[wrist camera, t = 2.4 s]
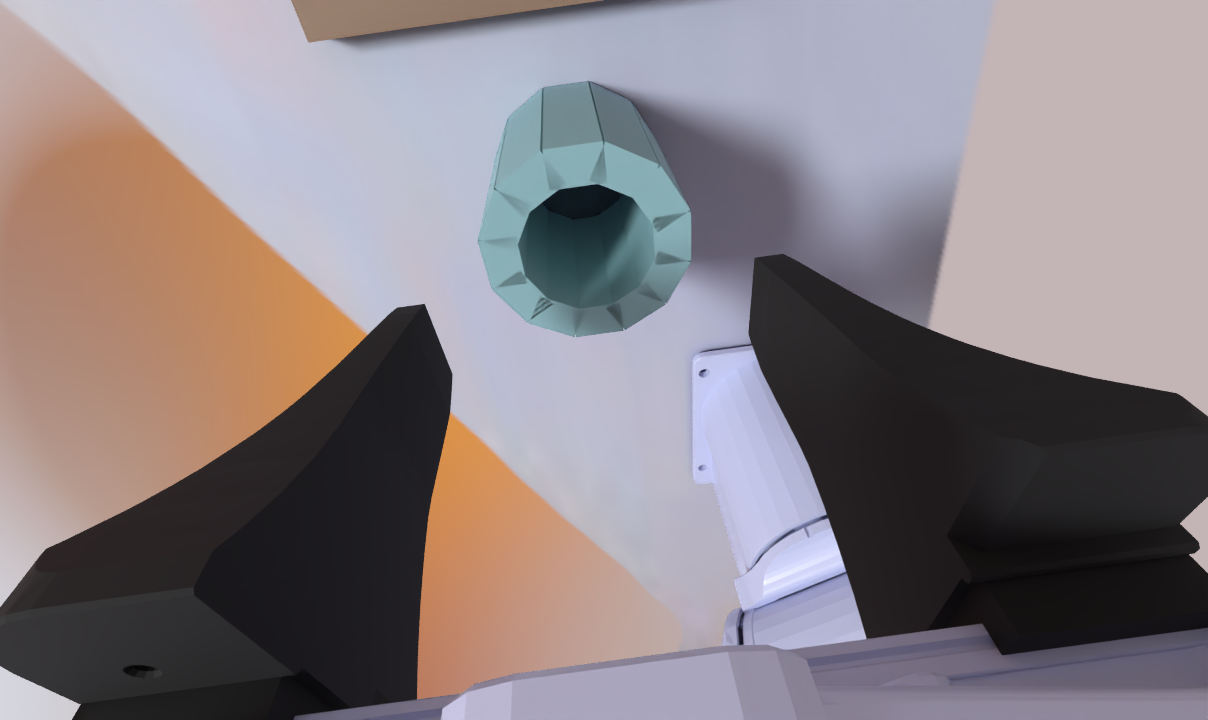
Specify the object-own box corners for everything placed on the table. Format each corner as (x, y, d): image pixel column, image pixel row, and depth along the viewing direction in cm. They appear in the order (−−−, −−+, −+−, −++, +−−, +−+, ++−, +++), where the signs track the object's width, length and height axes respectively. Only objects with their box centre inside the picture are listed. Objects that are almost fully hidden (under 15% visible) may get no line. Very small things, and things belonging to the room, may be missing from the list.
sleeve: (659, 231, 21) (691, 320, 16) (516, 251, 21) (508, 346, 16) (652, 71, 17) (690, 128, 12) (479, 96, 17) (454, 162, 13)
